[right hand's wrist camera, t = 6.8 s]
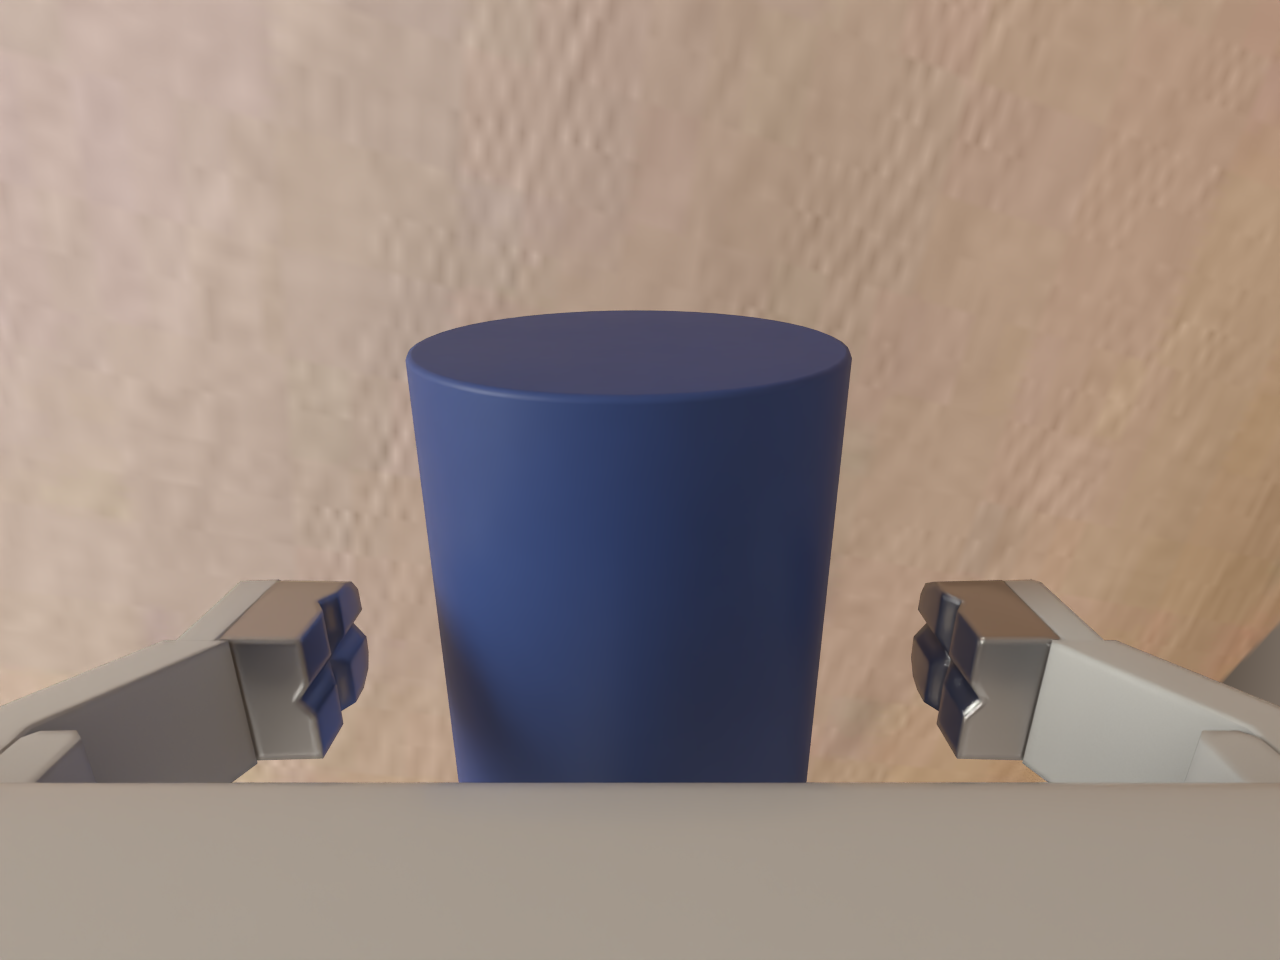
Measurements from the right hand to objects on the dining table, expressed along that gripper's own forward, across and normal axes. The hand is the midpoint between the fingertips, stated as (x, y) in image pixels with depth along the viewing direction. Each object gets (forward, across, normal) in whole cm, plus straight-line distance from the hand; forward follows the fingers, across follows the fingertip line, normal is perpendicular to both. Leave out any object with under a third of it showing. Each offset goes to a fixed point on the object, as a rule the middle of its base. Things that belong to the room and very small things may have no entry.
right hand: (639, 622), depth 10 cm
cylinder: (+4, 0, +8) cm, 9 cm away
